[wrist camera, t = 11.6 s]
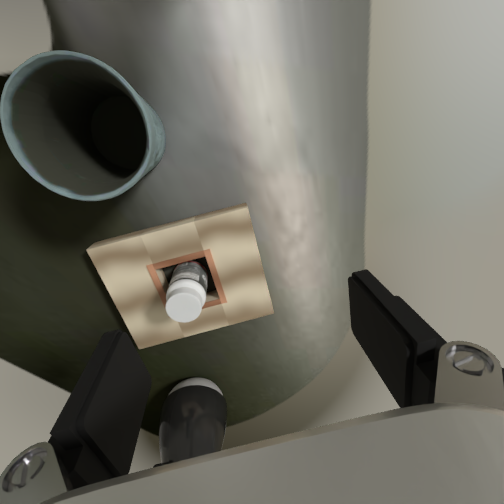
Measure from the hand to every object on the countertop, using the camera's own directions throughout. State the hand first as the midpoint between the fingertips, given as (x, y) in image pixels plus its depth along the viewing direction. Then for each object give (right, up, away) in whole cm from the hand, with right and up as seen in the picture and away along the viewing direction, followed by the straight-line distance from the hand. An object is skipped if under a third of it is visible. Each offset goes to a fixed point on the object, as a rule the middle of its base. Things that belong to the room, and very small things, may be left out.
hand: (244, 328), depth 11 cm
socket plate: (-8, 0, +27) cm, 28 cm away
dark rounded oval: (-9, -20, +36) cm, 42 cm away
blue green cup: (-14, +16, +20) cm, 29 cm away
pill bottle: (-8, 0, +27) cm, 29 cm away
